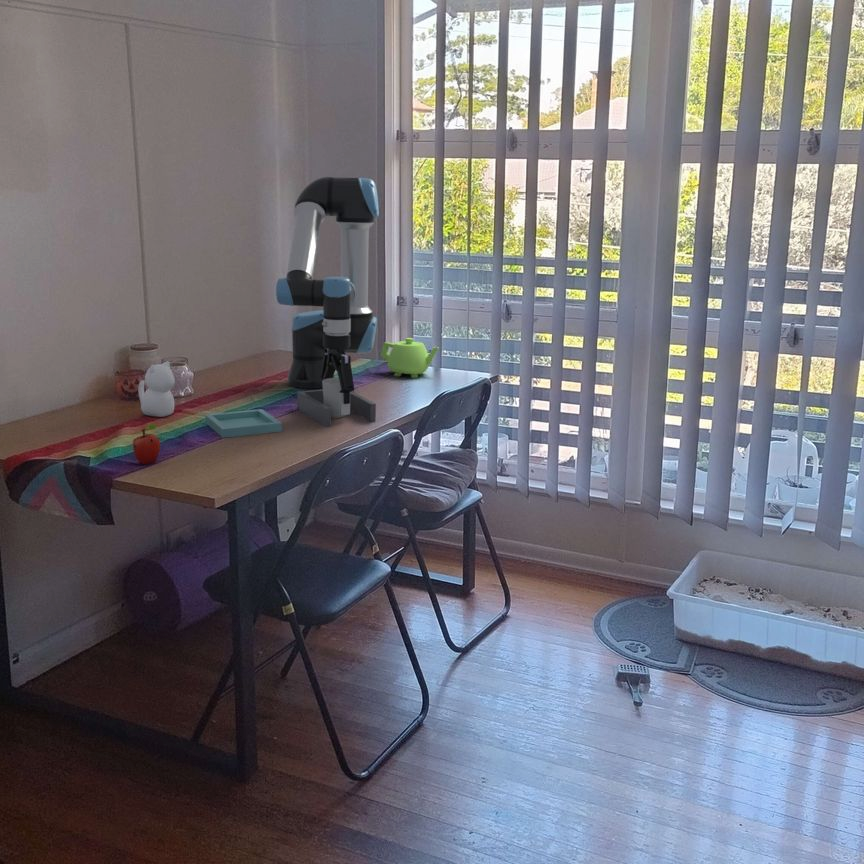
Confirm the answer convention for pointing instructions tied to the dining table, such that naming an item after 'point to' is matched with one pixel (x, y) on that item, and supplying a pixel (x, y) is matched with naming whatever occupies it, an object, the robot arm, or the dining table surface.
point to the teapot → (408, 357)
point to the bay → (318, 411)
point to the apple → (146, 446)
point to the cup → (332, 395)
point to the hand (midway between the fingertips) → (336, 409)
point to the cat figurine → (157, 391)
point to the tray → (243, 423)
